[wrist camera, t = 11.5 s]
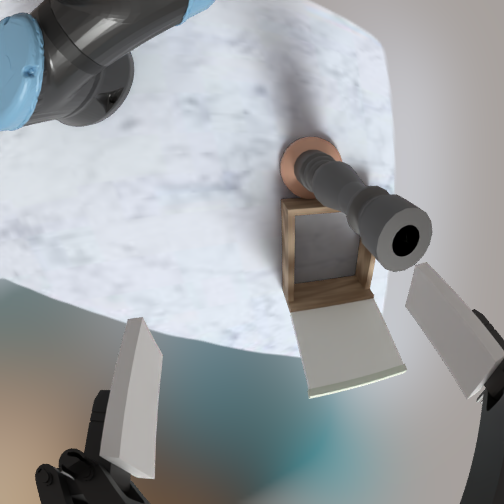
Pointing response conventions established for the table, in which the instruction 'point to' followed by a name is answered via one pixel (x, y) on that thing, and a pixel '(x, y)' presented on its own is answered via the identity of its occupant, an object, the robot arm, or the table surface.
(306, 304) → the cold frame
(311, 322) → the frame lid
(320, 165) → the candle holder
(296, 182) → the saucer
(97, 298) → the table surface
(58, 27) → the robot arm
